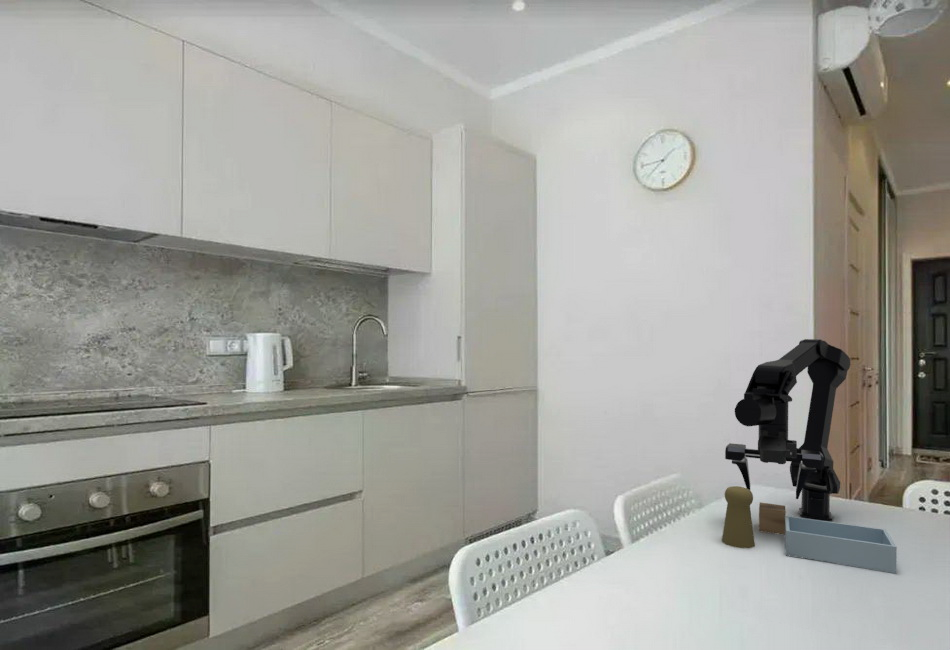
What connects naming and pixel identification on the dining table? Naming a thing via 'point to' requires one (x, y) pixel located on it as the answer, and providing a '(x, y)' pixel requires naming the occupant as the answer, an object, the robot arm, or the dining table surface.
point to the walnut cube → (772, 518)
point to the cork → (738, 518)
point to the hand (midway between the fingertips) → (772, 495)
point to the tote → (840, 543)
